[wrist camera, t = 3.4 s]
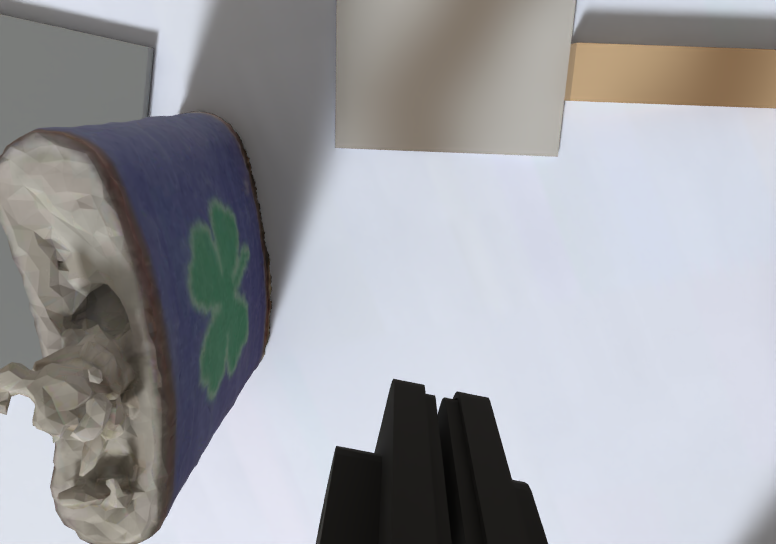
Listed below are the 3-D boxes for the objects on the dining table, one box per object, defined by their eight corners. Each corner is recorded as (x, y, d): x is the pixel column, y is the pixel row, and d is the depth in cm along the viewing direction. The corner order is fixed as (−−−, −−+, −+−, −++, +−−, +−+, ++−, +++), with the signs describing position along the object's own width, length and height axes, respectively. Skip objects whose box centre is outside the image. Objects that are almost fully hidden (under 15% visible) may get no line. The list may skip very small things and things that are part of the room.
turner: (922, -6, 17) (952, -11, 16) (875, 168, 19) (899, 172, 18) (338, -25, 18) (333, -31, 17) (336, 146, 19) (332, 150, 18)
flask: (165, 112, 19) (-120, 140, 9) (257, 109, 19) (77, 134, 9) (199, 375, 22) (13, 632, 11) (280, 374, 22) (164, 633, 11)
